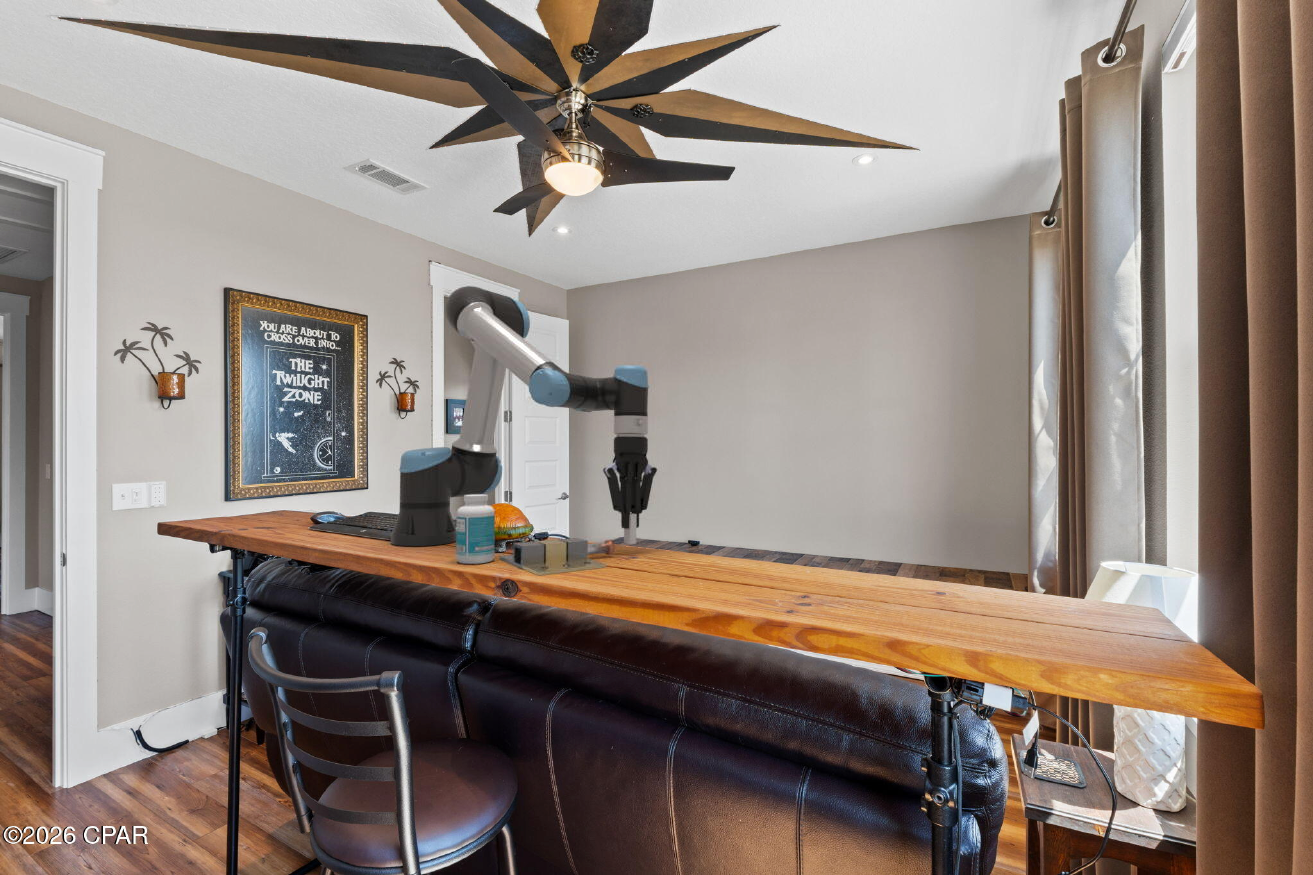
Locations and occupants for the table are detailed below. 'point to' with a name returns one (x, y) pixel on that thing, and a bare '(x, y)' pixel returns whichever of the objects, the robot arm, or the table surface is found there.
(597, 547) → the hinge pin
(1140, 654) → the table surface
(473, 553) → the pill bottle
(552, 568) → the three blocks on plate
